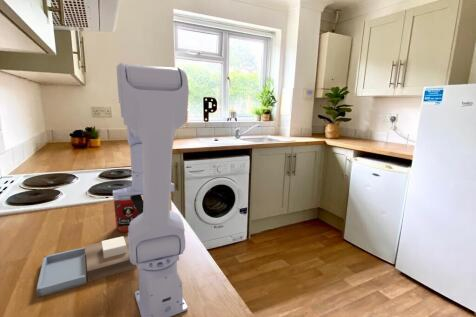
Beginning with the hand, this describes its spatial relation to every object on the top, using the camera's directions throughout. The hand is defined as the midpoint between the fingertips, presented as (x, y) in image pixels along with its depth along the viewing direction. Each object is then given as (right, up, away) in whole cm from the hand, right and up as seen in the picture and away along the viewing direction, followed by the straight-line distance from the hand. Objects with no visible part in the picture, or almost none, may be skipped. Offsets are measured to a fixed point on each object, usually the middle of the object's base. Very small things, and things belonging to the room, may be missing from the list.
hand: (146, 221), depth 66 cm
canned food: (-11, -6, +15) cm, 19 cm away
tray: (-16, -10, -8) cm, 20 cm away
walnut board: (-8, -9, -3) cm, 12 cm away
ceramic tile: (-7, -6, -3) cm, 10 cm away
